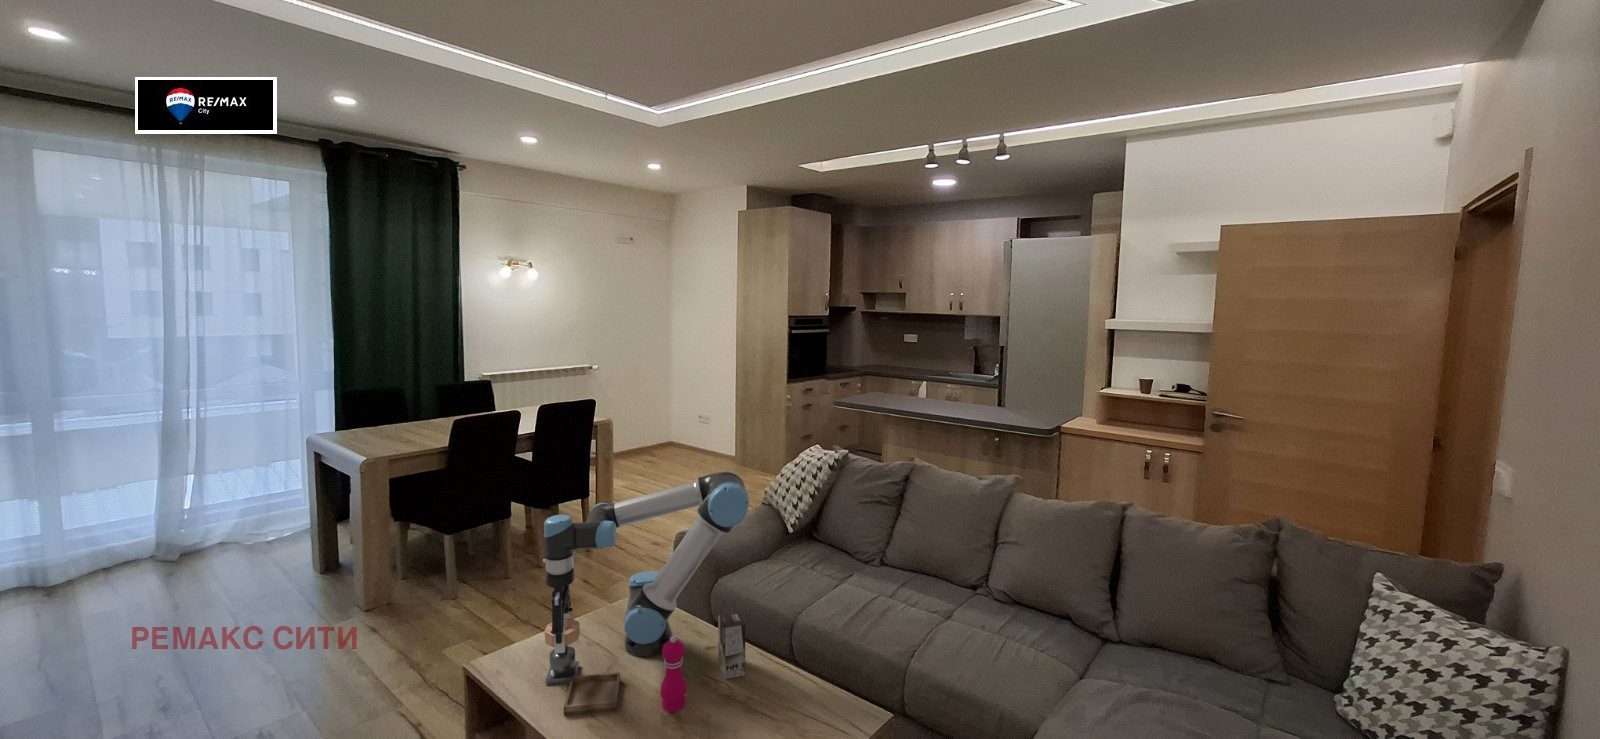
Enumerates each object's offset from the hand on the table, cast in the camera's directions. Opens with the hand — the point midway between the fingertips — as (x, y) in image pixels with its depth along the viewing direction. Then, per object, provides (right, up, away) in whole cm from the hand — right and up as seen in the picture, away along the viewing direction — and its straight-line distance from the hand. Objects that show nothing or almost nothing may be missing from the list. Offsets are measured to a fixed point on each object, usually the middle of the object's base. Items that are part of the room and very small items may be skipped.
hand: (562, 642), depth 185 cm
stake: (0, -10, +1) cm, 10 cm away
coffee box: (+49, -11, +6) cm, 50 cm away
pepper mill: (+35, -12, -11) cm, 38 cm away
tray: (+12, -11, -9) cm, 18 cm away
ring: (0, +1, 0) cm, 2 cm away
